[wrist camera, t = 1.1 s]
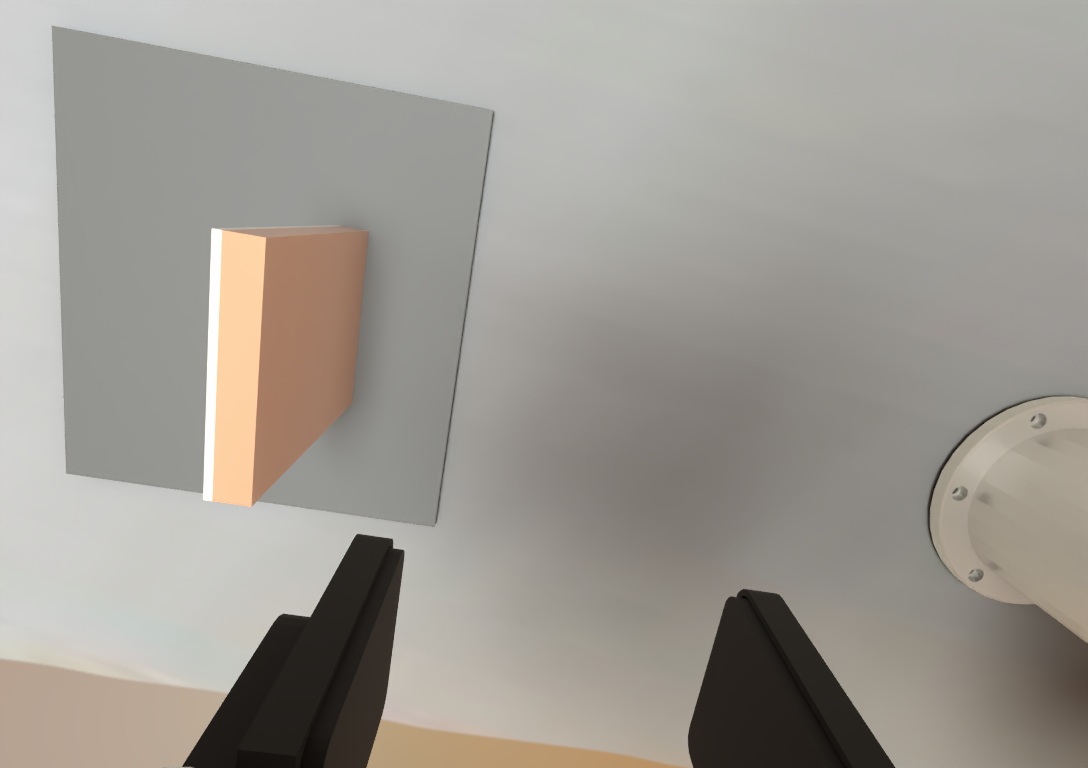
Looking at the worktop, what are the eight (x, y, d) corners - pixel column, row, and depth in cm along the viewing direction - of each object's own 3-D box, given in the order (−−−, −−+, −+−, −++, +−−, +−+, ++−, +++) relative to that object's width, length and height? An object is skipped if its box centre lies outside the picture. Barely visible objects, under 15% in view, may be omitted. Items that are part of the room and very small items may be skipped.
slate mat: (493, 112, 29) (493, 110, 28) (435, 521, 35) (434, 526, 34) (61, 29, 28) (51, 25, 27) (74, 469, 33) (66, 473, 33)
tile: (368, 230, 30) (266, 237, 18) (351, 403, 32) (251, 506, 20) (336, 225, 30) (211, 228, 18) (321, 398, 32) (203, 499, 20)
